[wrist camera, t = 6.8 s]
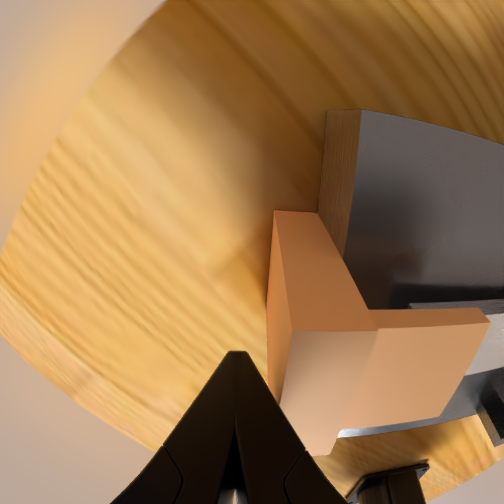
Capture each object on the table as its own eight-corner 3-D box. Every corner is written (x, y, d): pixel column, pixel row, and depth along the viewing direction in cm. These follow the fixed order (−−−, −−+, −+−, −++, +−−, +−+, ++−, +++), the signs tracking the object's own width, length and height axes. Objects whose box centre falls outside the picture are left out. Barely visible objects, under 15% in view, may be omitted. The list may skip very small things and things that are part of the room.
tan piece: (380, 312, 14) (439, 438, 7) (265, 310, 14) (269, 456, 7) (403, 220, 12) (509, 322, 5) (273, 210, 12) (291, 330, 5)
